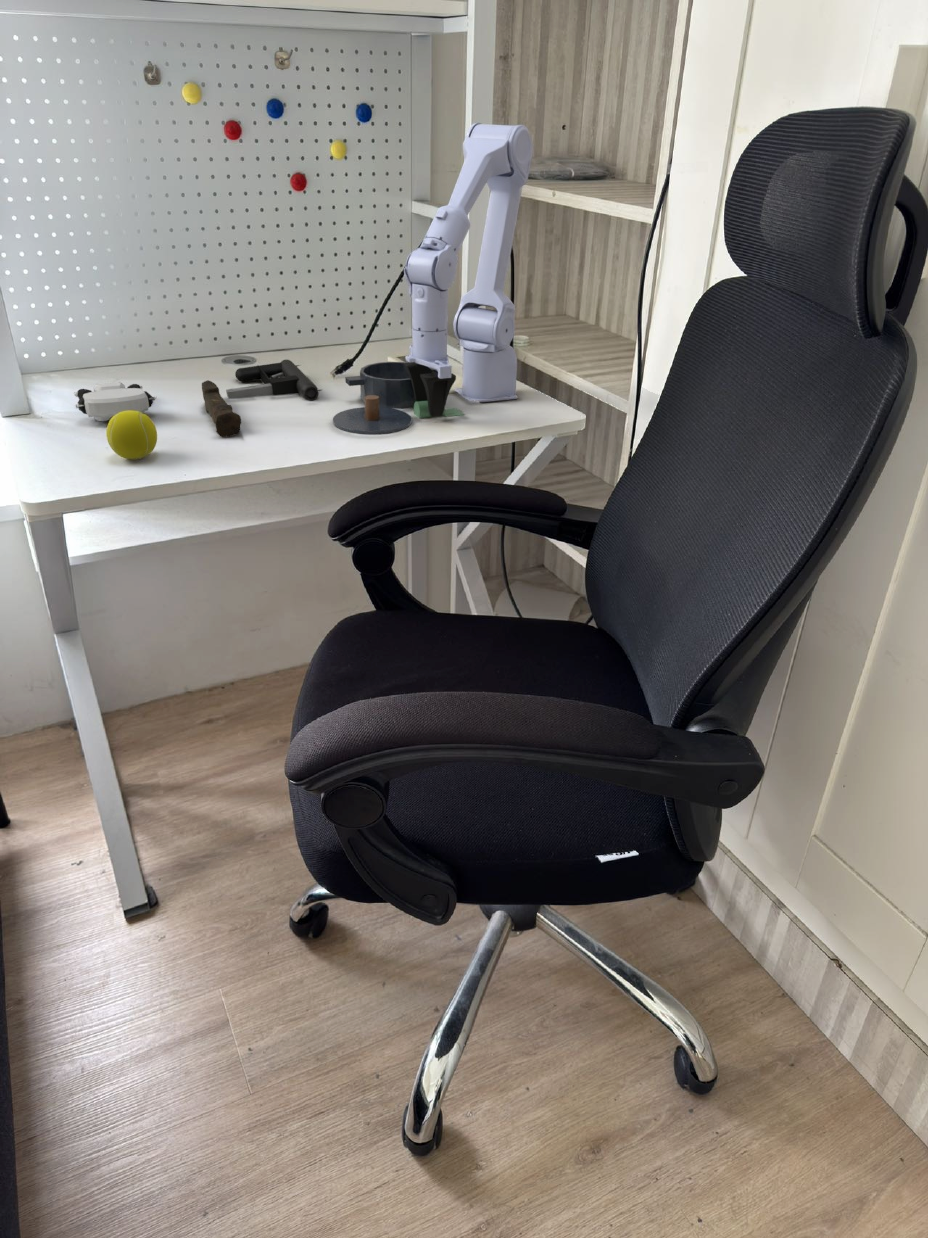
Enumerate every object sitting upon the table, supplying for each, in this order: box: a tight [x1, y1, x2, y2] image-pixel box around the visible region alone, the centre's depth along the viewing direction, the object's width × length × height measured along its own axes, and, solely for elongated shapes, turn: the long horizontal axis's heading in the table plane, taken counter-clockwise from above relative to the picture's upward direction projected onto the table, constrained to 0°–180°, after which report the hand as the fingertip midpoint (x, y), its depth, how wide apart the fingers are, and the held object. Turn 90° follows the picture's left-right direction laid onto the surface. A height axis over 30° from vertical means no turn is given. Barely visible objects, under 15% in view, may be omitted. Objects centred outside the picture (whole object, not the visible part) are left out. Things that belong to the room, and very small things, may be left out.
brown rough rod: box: [201, 379, 242, 438], centre depth 151 cm, size 19×4×5 cm, turn 22°
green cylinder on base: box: [413, 401, 465, 419], centre depth 156 cm, size 8×4×3 cm, turn 113°
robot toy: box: [73, 381, 158, 422], centre depth 153 cm, size 12×4×15 cm
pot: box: [344, 361, 416, 410], centre depth 162 cm, size 12×18×6 cm
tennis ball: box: [106, 410, 158, 460], centre depth 134 cm, size 7×7×7 cm
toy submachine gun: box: [225, 359, 322, 401], centre depth 167 cm, size 3×20×16 cm
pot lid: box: [332, 395, 413, 435], centre depth 151 cm, size 13×13×5 cm
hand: (429, 409), depth 155 cm, fingers open, 6 cm apart
